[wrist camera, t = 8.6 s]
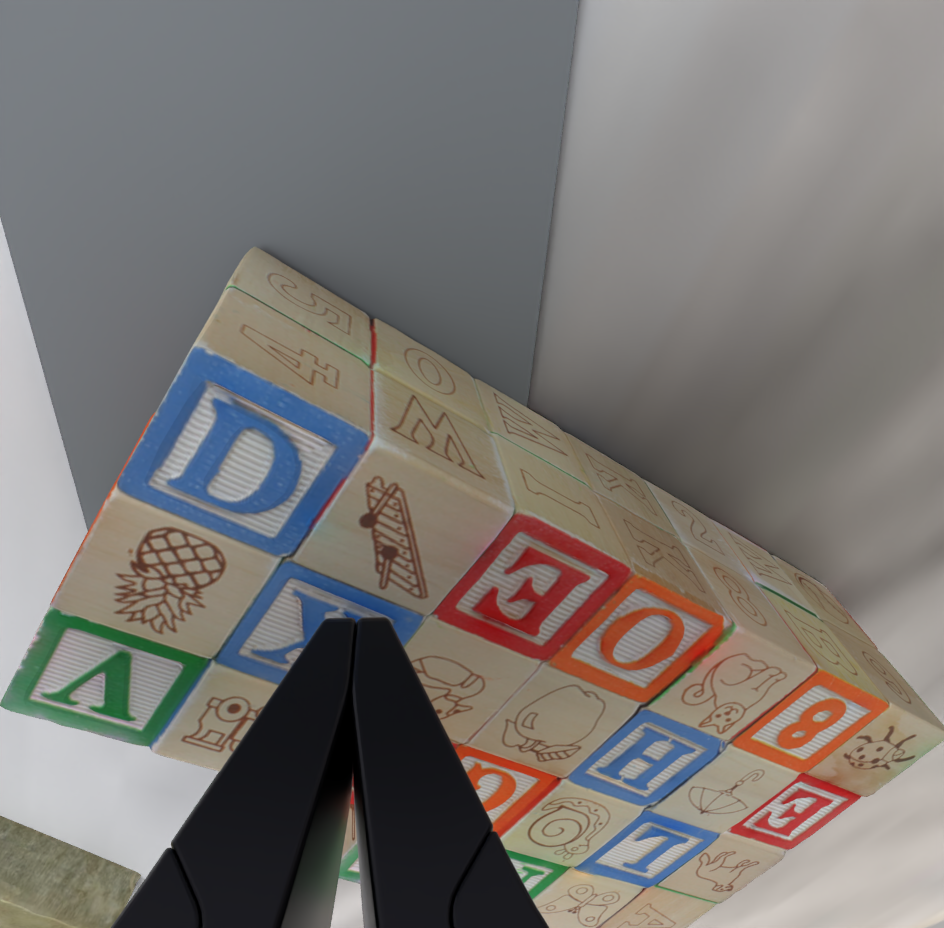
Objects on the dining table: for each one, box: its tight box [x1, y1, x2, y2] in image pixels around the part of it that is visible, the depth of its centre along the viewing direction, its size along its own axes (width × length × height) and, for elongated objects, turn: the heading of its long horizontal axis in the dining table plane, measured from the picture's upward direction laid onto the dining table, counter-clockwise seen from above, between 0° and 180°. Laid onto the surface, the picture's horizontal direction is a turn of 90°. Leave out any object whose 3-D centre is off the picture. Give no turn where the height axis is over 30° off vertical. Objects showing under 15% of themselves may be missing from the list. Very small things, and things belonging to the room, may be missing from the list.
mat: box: [0, 0, 579, 531], centre depth 17 cm, size 12×23×1 cm, turn 176°
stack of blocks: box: [0, 247, 944, 928], centre depth 19 cm, size 21×6×12 cm
